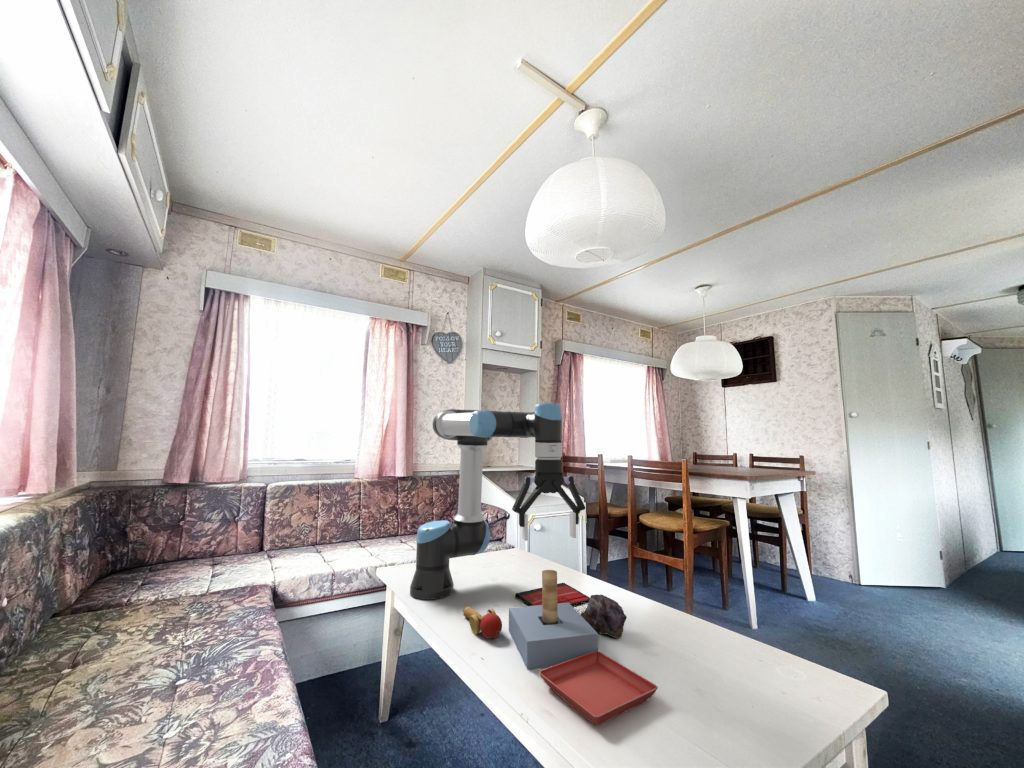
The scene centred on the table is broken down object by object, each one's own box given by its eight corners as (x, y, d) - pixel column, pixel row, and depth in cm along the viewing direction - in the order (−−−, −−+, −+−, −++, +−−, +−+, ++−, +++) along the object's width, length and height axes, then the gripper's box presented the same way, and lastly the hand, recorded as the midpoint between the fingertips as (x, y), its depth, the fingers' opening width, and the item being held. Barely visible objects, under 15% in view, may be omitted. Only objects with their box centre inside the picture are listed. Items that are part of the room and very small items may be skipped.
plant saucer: (597, 663, 98) (597, 648, 99) (660, 703, 83) (659, 685, 84) (537, 687, 88) (537, 671, 89) (596, 738, 73) (596, 717, 74)
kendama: (453, 625, 120) (482, 641, 106) (456, 601, 122) (484, 614, 108) (476, 625, 124) (507, 640, 109) (479, 601, 126) (509, 613, 111)
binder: (515, 592, 138) (563, 581, 149) (514, 599, 138) (563, 588, 149) (543, 611, 125) (593, 597, 136) (542, 619, 124) (593, 605, 135)
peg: (540, 641, 108) (539, 570, 110) (555, 639, 109) (554, 569, 111) (545, 649, 104) (544, 575, 106) (560, 647, 105) (559, 573, 107)
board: (508, 630, 114) (508, 607, 115) (569, 624, 118) (568, 602, 119) (527, 669, 95) (527, 641, 96) (598, 660, 99) (598, 633, 100)
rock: (613, 648, 107) (631, 634, 114) (616, 616, 107) (634, 604, 114) (576, 627, 115) (595, 615, 122) (579, 597, 115) (598, 587, 122)
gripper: (507, 459, 107) (507, 543, 104) (595, 458, 112) (597, 538, 109) (502, 458, 114) (501, 537, 111) (585, 457, 120) (586, 532, 117)
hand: (549, 538), depth 110 cm, fingers open, 13 cm apart
